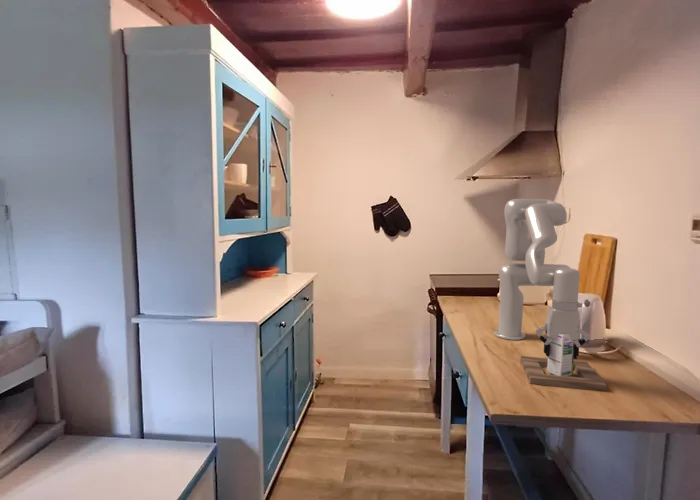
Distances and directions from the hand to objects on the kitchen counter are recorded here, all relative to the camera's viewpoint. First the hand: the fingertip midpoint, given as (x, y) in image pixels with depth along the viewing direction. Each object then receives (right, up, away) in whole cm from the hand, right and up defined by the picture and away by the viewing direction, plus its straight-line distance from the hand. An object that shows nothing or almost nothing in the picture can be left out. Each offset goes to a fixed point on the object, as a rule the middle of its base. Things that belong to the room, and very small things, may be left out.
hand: (560, 356), depth 147 cm
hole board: (0, -6, +1) cm, 6 cm away
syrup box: (0, -6, +1) cm, 6 cm away
